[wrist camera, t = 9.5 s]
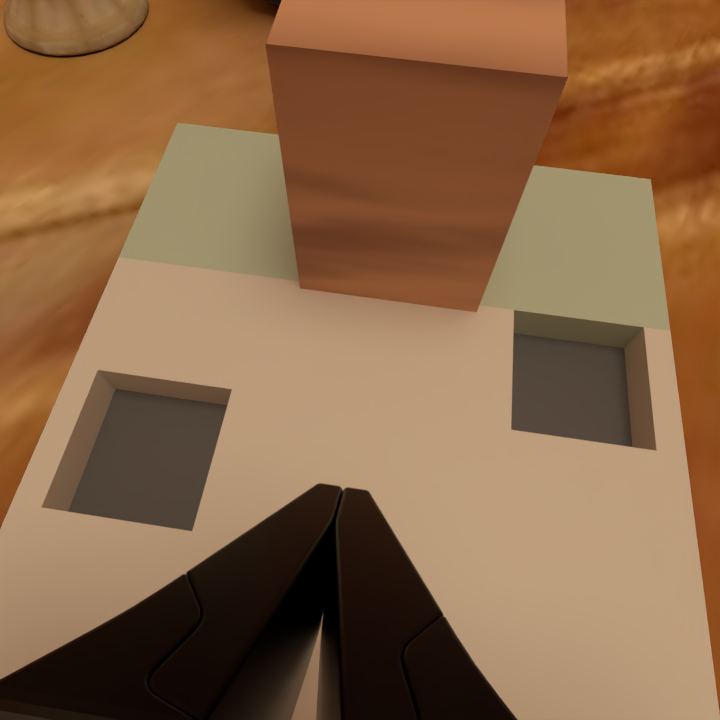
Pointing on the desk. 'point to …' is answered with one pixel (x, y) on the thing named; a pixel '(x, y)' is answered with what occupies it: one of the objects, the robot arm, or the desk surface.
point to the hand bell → (72, 24)
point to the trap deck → (376, 479)
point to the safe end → (510, 274)
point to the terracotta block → (411, 137)
